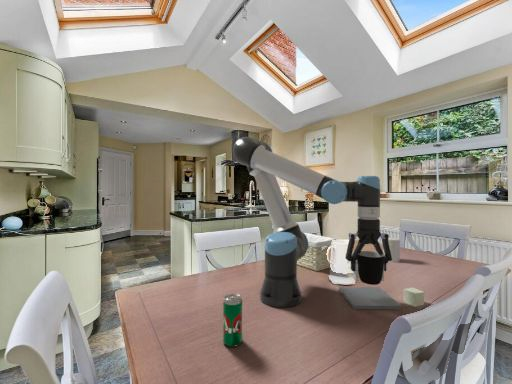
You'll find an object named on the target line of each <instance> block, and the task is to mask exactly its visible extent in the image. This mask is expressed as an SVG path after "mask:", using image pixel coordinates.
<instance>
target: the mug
mask: <svg viewBox="0 0 512 384" xmlns="http://www.w3.org/2000/svg"><path fill="white" fill-rule="evenodd" d="M356 262H357V263H358V279H359V280H360V282H362V283H363V284H366V285H372V286H375V285H376V286H377V285H379V284H381V282H382V281H381V280H382V276H383V269H384V255H383V254H381V256H380V255H379V254H378V252H377V251H374V250H373V251H372V250H361V252H360V254H358V258H357V261H356Z"/></svg>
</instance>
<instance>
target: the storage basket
mask: <svg viewBox="0 0 512 384" xmlns="http://www.w3.org/2000/svg"><path fill="white" fill-rule="evenodd" d="M303 233H304V234H305V235H306V237H307V239H308V249H307V251H306V253H305V255H304V256H303V257H302V258H300V259H299V260H298V261H297V266H300V267H302V268H306V269H309V270H312V271H317V272H318V271H321V270H325V269H329V268H331V267H330V264H329V262H328V260H327V255H326V253H327V249H328V247H329V246H330V245H331V242H332V240H337V238H332V237H329V236H323V235H317V234H314V233H313V234H312V233H308V232H303Z"/></svg>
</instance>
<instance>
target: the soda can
mask: <svg viewBox="0 0 512 384" xmlns="http://www.w3.org/2000/svg"><path fill="white" fill-rule="evenodd" d="M242 342H243V299H242V296H241V295H240V294H238V293H230V294H227V295H225V296H224V299H223V301H222V343H223V344H224V345H225V344H226V345H228V346H227V347H229V346H235V345H238V344H239V345H241V343H242ZM226 345H225V346H226ZM239 345H238V346H239ZM235 347H236V346H235Z"/></svg>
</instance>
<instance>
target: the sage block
mask: <svg viewBox="0 0 512 384" xmlns="http://www.w3.org/2000/svg"><path fill="white" fill-rule="evenodd" d="M402 293H403V297H402V299H403V300H402V301H403V302H404V303H406V304H408V305H410V306H412V307H419V306H425V292H424V291H422V290H420V289H418V288H415V287H408V288H403V292H402Z"/></svg>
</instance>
